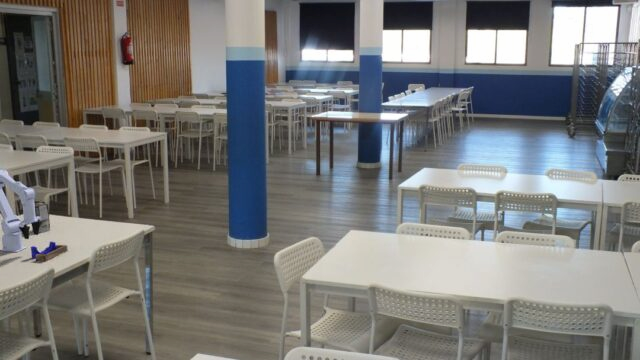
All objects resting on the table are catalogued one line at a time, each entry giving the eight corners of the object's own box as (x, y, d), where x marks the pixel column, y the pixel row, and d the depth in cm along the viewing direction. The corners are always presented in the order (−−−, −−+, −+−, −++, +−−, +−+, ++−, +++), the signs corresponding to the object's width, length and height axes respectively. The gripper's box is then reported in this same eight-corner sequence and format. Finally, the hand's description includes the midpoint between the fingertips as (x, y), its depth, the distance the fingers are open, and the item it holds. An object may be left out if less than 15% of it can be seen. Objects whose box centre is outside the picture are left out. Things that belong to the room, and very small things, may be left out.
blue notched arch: (51, 251, 351) (50, 240, 349) (56, 253, 348) (55, 242, 347) (30, 257, 341) (29, 246, 340) (35, 259, 338) (33, 247, 337)
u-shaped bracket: (35, 260, 335) (35, 255, 335) (57, 249, 353) (57, 244, 352) (46, 261, 334) (45, 255, 333) (67, 250, 351) (67, 245, 350)
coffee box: (51, 230, 389) (48, 204, 386) (41, 233, 384) (38, 206, 380) (41, 228, 394) (39, 202, 390) (31, 230, 388) (29, 204, 385)
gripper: (26, 215, 334) (29, 241, 336) (44, 208, 347) (46, 233, 350) (14, 214, 335) (17, 240, 338) (33, 207, 349) (35, 232, 352)
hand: (31, 236), depth 344 cm, fingers open, 7 cm apart
